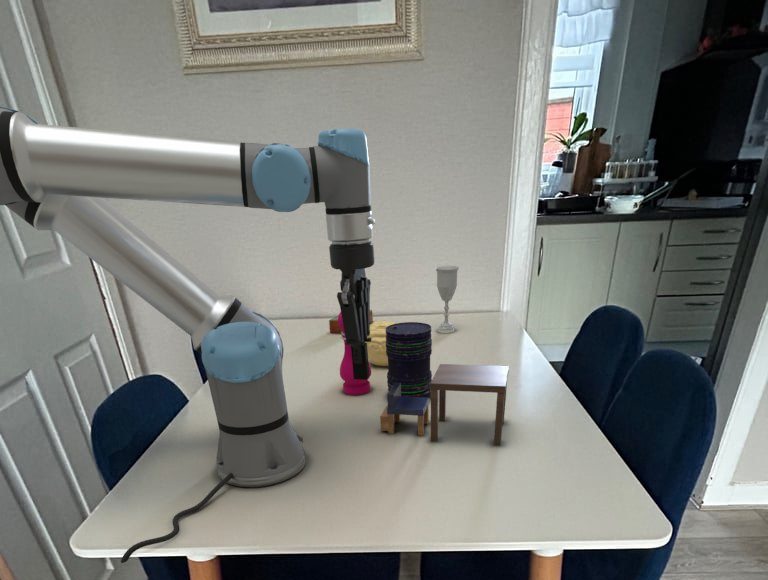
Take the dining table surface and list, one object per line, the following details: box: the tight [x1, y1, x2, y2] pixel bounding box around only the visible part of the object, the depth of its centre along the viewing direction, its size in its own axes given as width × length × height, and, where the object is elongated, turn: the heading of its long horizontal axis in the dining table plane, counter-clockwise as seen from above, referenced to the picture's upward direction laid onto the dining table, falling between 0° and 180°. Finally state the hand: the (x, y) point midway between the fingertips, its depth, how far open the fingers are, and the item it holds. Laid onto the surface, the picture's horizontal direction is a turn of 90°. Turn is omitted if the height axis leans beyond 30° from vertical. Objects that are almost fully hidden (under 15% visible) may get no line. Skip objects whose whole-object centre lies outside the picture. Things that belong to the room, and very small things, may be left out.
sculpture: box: [365, 320, 397, 367], centre depth 139 cm, size 12×12×11 cm
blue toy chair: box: [379, 383, 430, 436], centre depth 104 cm, size 8×6×8 cm
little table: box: [430, 363, 510, 447], centre depth 101 cm, size 11×13×11 cm
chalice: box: [435, 265, 460, 334], centre depth 161 cm, size 7×7×18 cm
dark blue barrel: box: [386, 321, 433, 400], centre depth 117 cm, size 10×10×15 cm
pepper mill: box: [337, 311, 372, 396], centre depth 120 cm, size 7×7×20 cm
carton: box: [328, 309, 374, 335], centre depth 174 cm, size 8×16×4 cm, turn 158°
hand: (361, 378), depth 103 cm, fingers closed
